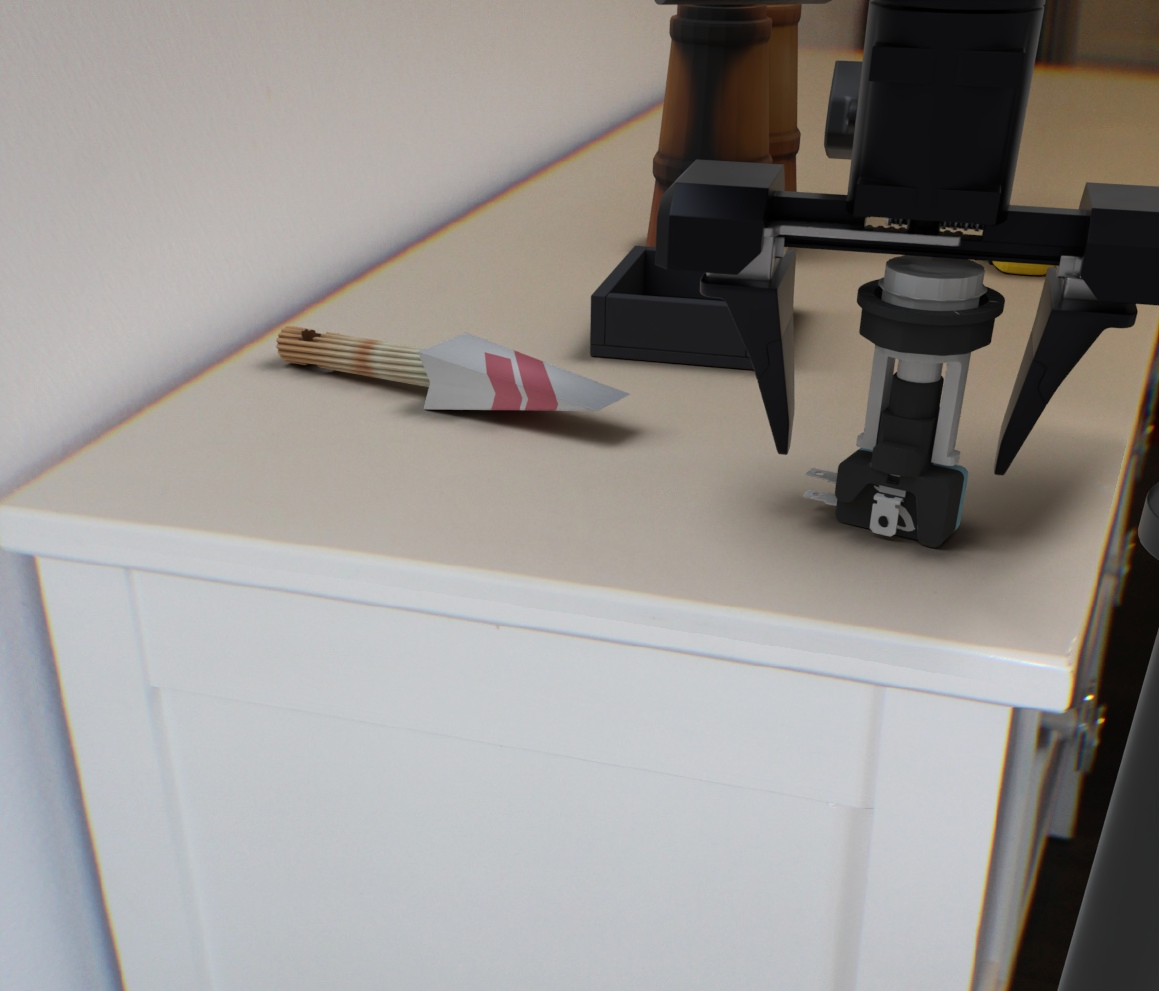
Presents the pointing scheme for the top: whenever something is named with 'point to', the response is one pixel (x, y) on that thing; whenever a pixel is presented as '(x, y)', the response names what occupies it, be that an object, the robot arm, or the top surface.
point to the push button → (914, 398)
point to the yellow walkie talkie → (1022, 268)
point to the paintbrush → (453, 371)
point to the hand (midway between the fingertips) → (889, 461)
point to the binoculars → (729, 92)
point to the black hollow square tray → (662, 317)
